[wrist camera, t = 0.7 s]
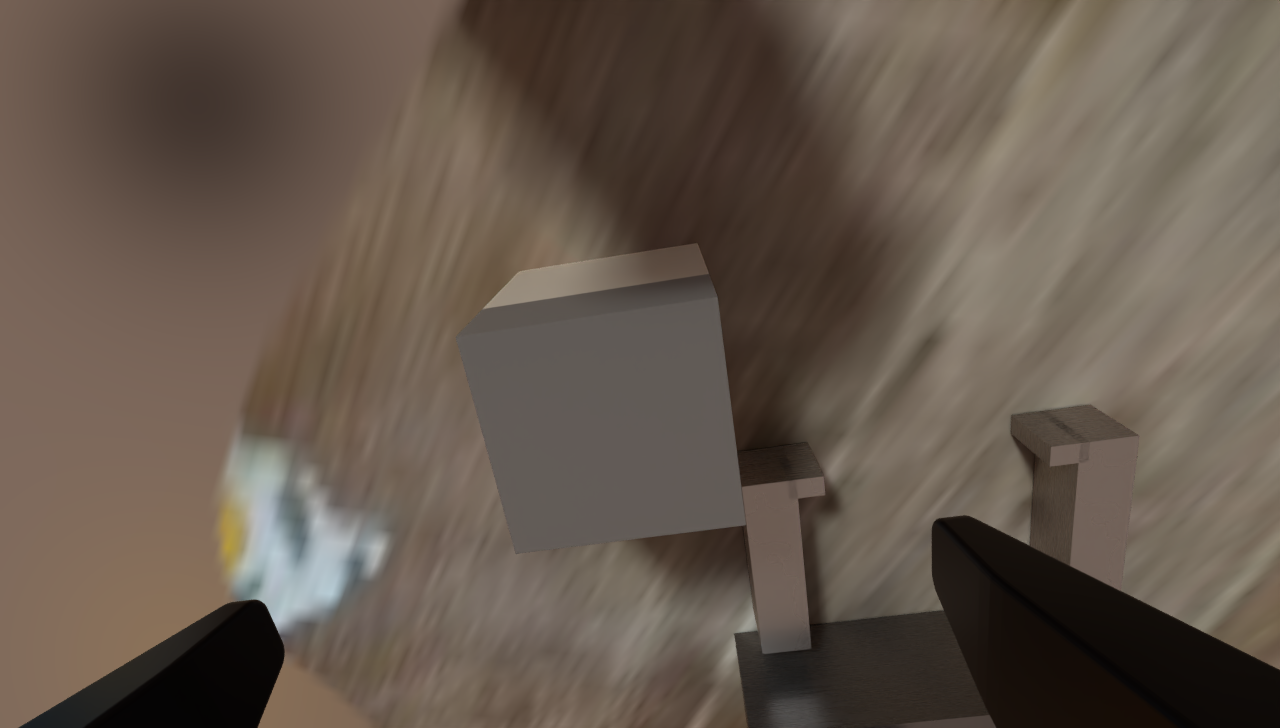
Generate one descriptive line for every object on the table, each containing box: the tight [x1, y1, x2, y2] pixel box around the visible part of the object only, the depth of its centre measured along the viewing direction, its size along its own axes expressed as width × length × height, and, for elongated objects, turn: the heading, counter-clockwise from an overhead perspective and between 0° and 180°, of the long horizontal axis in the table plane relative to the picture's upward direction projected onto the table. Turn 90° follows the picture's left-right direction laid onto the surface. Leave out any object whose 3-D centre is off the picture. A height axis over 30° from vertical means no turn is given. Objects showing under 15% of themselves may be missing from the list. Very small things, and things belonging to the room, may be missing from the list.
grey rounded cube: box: [456, 243, 746, 554], centre depth 15 cm, size 5×5×6 cm
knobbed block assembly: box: [734, 405, 1139, 728], centre depth 19 cm, size 11×12×5 cm
